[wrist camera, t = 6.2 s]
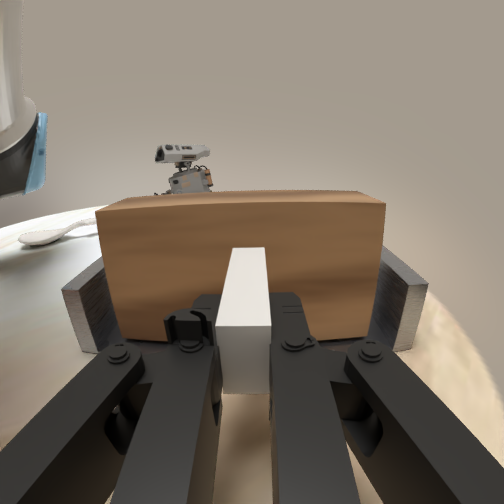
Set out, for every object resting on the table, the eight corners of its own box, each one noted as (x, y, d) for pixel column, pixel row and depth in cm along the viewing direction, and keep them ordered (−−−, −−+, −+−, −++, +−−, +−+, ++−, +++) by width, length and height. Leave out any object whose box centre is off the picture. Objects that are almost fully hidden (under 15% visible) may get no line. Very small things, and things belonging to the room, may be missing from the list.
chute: (410, 349, 17) (428, 283, 15) (82, 351, 17) (61, 289, 15) (348, 263, 32) (351, 221, 30) (148, 267, 32) (142, 225, 30)
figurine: (154, 219, 58) (149, 147, 53) (207, 212, 61) (204, 143, 56) (157, 229, 50) (150, 145, 45) (218, 221, 53) (215, 140, 48)
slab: (367, 336, 18) (385, 203, 15) (122, 337, 18) (94, 211, 15) (347, 301, 23) (357, 191, 20) (144, 304, 23) (127, 197, 20)
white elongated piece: (169, 234, 47) (167, 213, 46) (13, 254, 39) (9, 236, 38) (170, 222, 55) (168, 205, 54) (32, 240, 48) (29, 225, 47)
